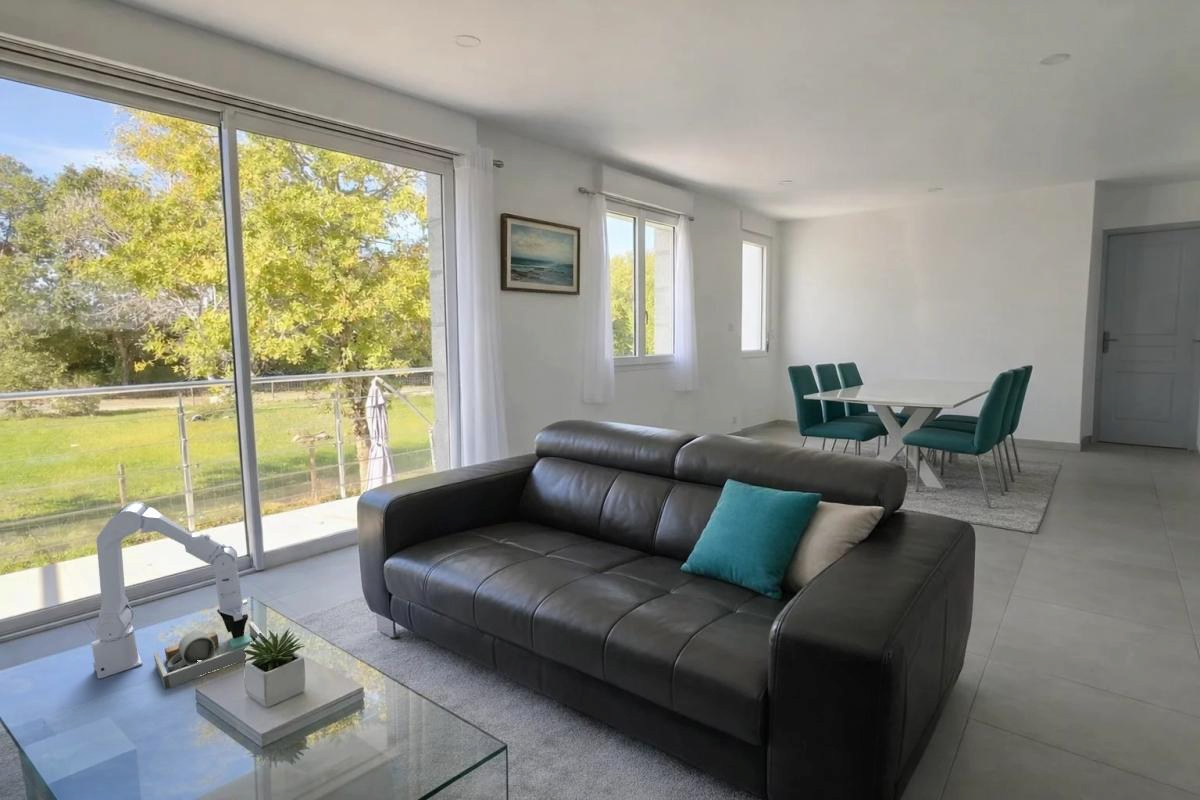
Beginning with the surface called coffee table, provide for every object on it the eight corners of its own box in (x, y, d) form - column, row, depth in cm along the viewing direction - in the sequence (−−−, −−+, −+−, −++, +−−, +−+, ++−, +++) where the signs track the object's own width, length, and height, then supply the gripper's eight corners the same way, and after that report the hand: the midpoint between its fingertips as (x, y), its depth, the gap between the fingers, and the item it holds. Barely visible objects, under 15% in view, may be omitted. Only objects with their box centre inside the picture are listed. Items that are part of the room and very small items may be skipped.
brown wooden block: (169, 664, 173) (167, 652, 172) (166, 660, 175) (164, 648, 175) (219, 646, 181) (217, 634, 181) (215, 642, 183) (214, 631, 183)
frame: (165, 689, 161) (163, 676, 160) (155, 666, 172) (153, 654, 171) (269, 651, 177) (267, 639, 176) (254, 632, 188) (252, 621, 187)
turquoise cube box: (234, 657, 175) (232, 647, 174) (229, 650, 178) (228, 640, 178) (254, 650, 178) (252, 640, 177) (249, 643, 182) (248, 633, 181)
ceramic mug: (209, 648, 180) (205, 623, 178) (217, 659, 174) (213, 633, 173) (165, 665, 172) (160, 639, 171) (172, 677, 167) (167, 650, 165)
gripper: (251, 593, 178) (257, 639, 180) (238, 578, 189) (244, 621, 191) (223, 602, 174) (229, 649, 176) (210, 586, 184) (217, 630, 186)
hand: (235, 635), depth 183 cm, fingers open, 7 cm apart
